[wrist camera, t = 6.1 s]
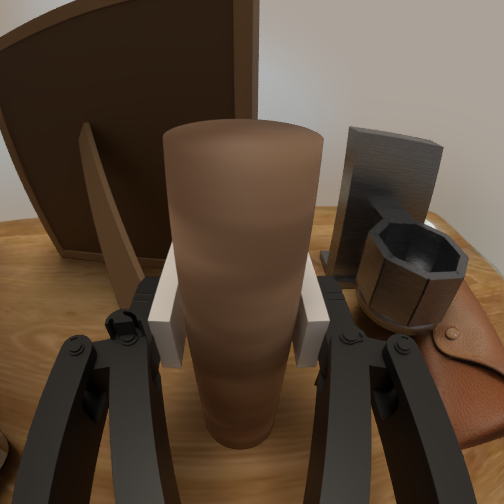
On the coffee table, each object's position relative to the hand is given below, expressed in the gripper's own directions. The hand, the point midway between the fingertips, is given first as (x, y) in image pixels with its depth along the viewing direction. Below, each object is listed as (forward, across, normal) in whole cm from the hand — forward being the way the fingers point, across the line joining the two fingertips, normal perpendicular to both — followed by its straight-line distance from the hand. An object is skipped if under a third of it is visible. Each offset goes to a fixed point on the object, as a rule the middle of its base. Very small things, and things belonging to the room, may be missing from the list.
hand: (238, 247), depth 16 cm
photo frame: (+7, -10, -9) cm, 15 cm away
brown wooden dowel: (-5, 0, -9) cm, 10 cm away
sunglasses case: (-2, +17, -10) cm, 20 cm away
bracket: (+5, +12, -9) cm, 16 cm away
